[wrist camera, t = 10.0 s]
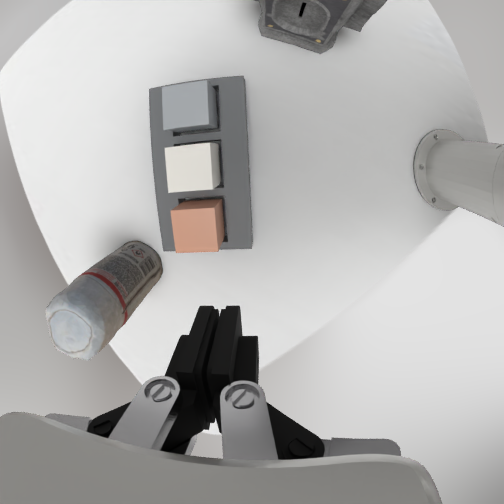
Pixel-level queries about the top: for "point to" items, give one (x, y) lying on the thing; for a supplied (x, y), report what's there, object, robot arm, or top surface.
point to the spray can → (102, 300)
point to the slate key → (189, 107)
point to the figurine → (313, 20)
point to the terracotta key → (198, 225)
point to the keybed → (232, 158)
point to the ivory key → (193, 167)
